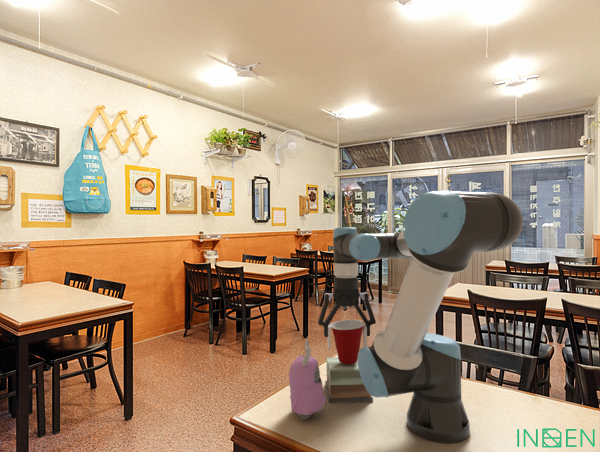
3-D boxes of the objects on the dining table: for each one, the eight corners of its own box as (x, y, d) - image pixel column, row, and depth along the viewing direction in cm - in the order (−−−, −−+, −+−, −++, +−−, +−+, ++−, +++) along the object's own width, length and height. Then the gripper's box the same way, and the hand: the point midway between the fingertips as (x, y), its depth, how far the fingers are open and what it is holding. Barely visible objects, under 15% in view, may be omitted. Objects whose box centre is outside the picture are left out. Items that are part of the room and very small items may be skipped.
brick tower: (372, 401, 109) (372, 371, 109) (329, 402, 109) (328, 372, 109) (364, 383, 122) (363, 356, 122) (325, 384, 122) (324, 357, 122)
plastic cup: (330, 354, 122) (330, 318, 122) (364, 355, 120) (363, 319, 120) (329, 366, 111) (328, 326, 111) (365, 368, 109) (364, 327, 109)
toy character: (323, 427, 95) (322, 350, 95) (284, 424, 97) (283, 348, 97) (329, 405, 107) (328, 336, 107) (294, 402, 109) (293, 335, 109)
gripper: (379, 274, 120) (380, 342, 119) (308, 275, 119) (309, 343, 119) (385, 277, 112) (386, 349, 112) (309, 278, 112) (311, 351, 111)
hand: (347, 346), depth 115 cm, fingers closed on plastic cup, 11 cm apart
